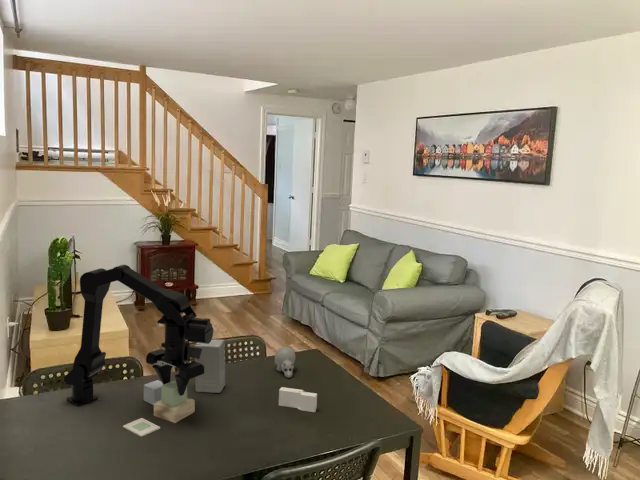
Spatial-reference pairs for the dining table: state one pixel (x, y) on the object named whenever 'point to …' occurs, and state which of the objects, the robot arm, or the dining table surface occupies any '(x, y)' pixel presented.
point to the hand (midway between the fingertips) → (174, 392)
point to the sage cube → (172, 394)
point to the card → (141, 427)
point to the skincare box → (211, 367)
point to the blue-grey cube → (153, 392)
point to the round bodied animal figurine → (285, 360)
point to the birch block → (174, 410)
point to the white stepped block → (298, 399)
